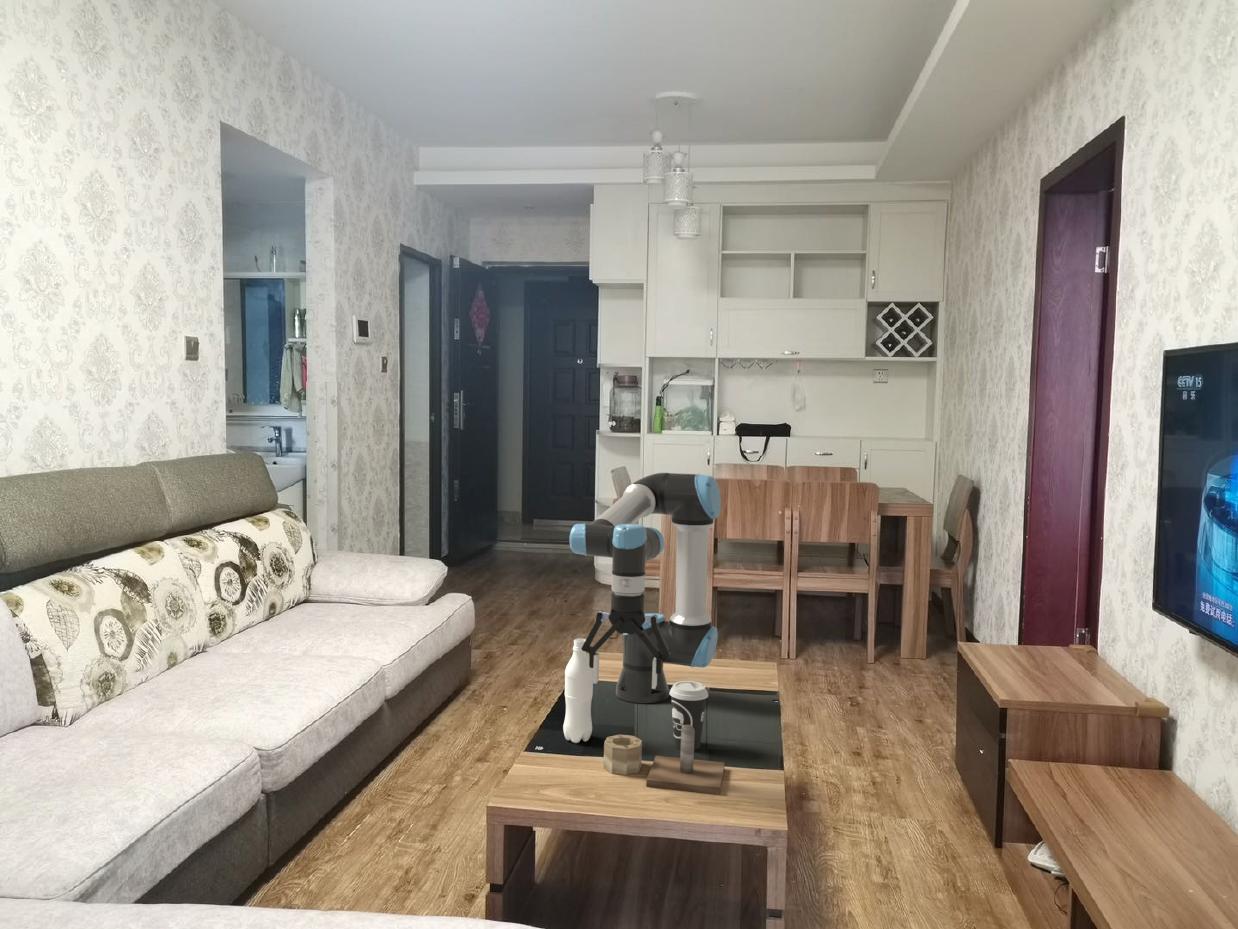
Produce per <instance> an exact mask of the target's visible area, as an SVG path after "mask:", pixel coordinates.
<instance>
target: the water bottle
mask: <svg viewBox="0 0 1238 929" xmlns="http://www.w3.org/2000/svg"><path fill="white" fill-rule="evenodd" d="M585 641H586V638H575V639H574V640H573V647H572V651H573V652H572V656H571V658H570V659H569V661H568V663H567V664H566V667H565V671H564V698H565V699H564V700H565V716H564V722H563V726H562V730H563V734H564V738H565V739H566V740H567V741H571V742H572V743H574V744H579V743H580V741H581V740H582V741H583V742H587V741H589V739H590V738H591V735H592V732H593V723H592V714H591V713H592V712H591V711H592V710H591V707H592V700H593V695H594V693H593V692H594V691H593V690H594V683H593V668H590V667H589V658H588V657H589V656H588V655H587V652H586V651H582V646H583V644H584V643H585Z"/></svg>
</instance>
